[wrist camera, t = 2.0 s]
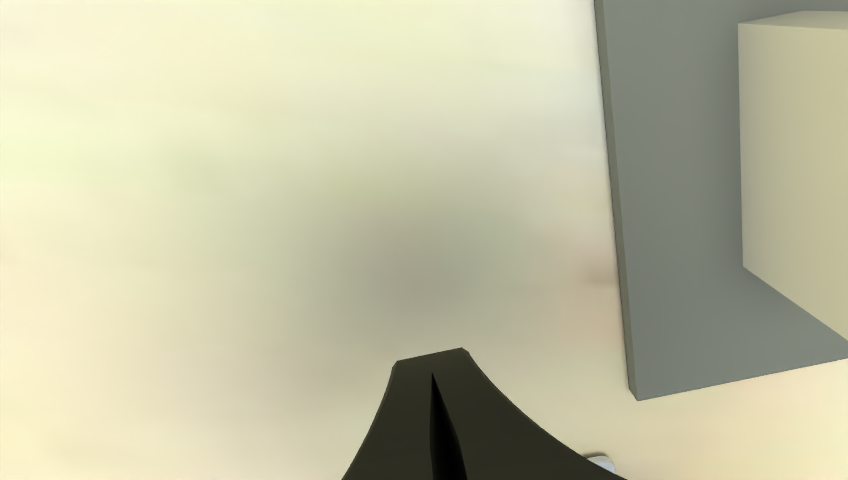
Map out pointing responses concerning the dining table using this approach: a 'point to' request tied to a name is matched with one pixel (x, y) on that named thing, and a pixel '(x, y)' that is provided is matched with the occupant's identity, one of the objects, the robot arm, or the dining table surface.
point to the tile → (796, 158)
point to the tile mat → (691, 200)
